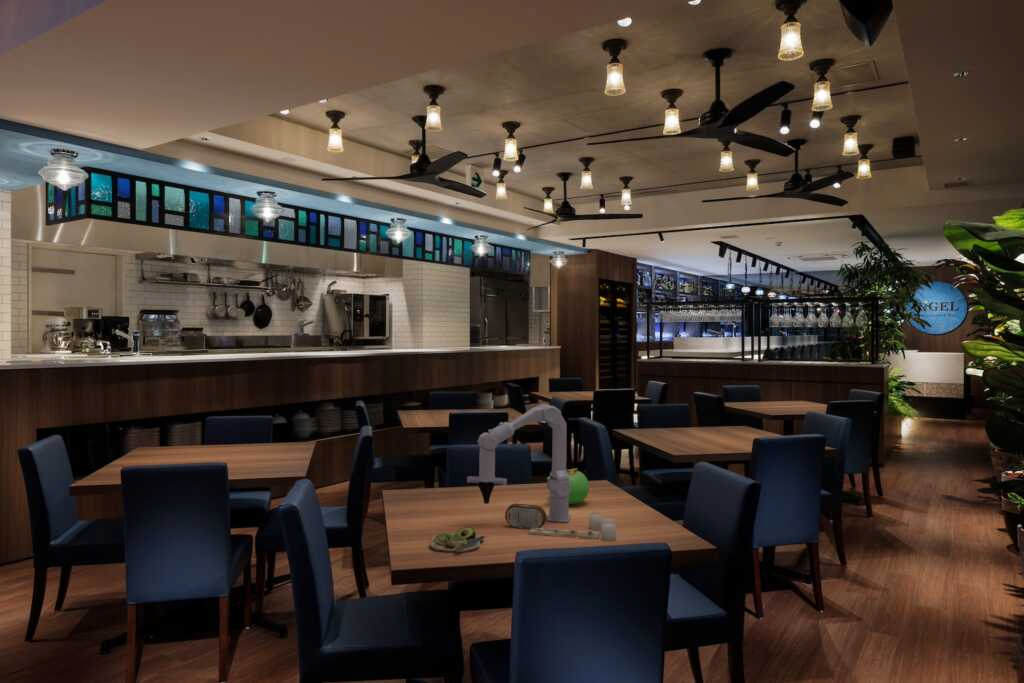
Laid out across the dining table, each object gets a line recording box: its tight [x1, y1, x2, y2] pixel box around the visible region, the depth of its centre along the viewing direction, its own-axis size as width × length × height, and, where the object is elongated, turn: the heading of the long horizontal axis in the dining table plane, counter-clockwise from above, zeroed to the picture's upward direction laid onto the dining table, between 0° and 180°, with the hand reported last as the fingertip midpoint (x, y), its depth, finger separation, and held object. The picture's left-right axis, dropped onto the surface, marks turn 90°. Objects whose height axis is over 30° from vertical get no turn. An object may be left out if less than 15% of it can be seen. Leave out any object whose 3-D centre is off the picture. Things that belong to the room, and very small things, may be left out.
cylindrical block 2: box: [599, 516, 616, 535], centre depth 244 cm, size 5×5×5 cm
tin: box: [504, 502, 547, 529], centre depth 250 cm, size 15×3×8 cm, turn 74°
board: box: [528, 527, 600, 540], centre depth 241 cm, size 5×24×1 cm, turn 77°
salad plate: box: [429, 526, 486, 553], centre depth 227 cm, size 19×18×5 cm
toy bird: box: [546, 468, 590, 505], centre depth 288 cm, size 18×17×15 cm
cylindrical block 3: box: [600, 522, 617, 542], centre depth 237 cm, size 5×5×5 cm
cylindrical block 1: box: [588, 512, 604, 531], centre depth 250 cm, size 5×5×5 cm
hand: (486, 503), depth 253 cm, fingers closed
